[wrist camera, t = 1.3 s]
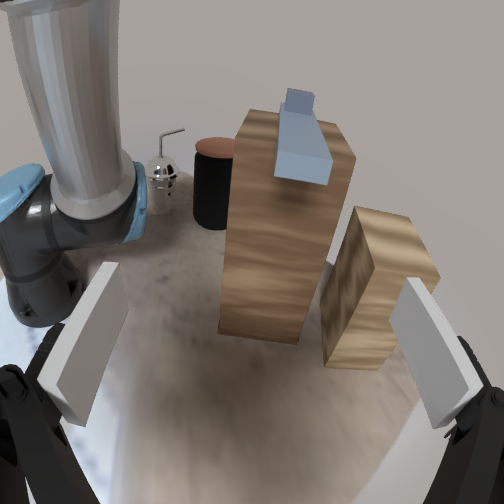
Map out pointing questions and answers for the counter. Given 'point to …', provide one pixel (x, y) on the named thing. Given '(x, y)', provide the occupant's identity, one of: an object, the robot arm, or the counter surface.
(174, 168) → the cup with straw
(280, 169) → the lid
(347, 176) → the walnut box
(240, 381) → the counter surface
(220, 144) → the coffee jar
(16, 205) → the robot arm
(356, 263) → the oak block
